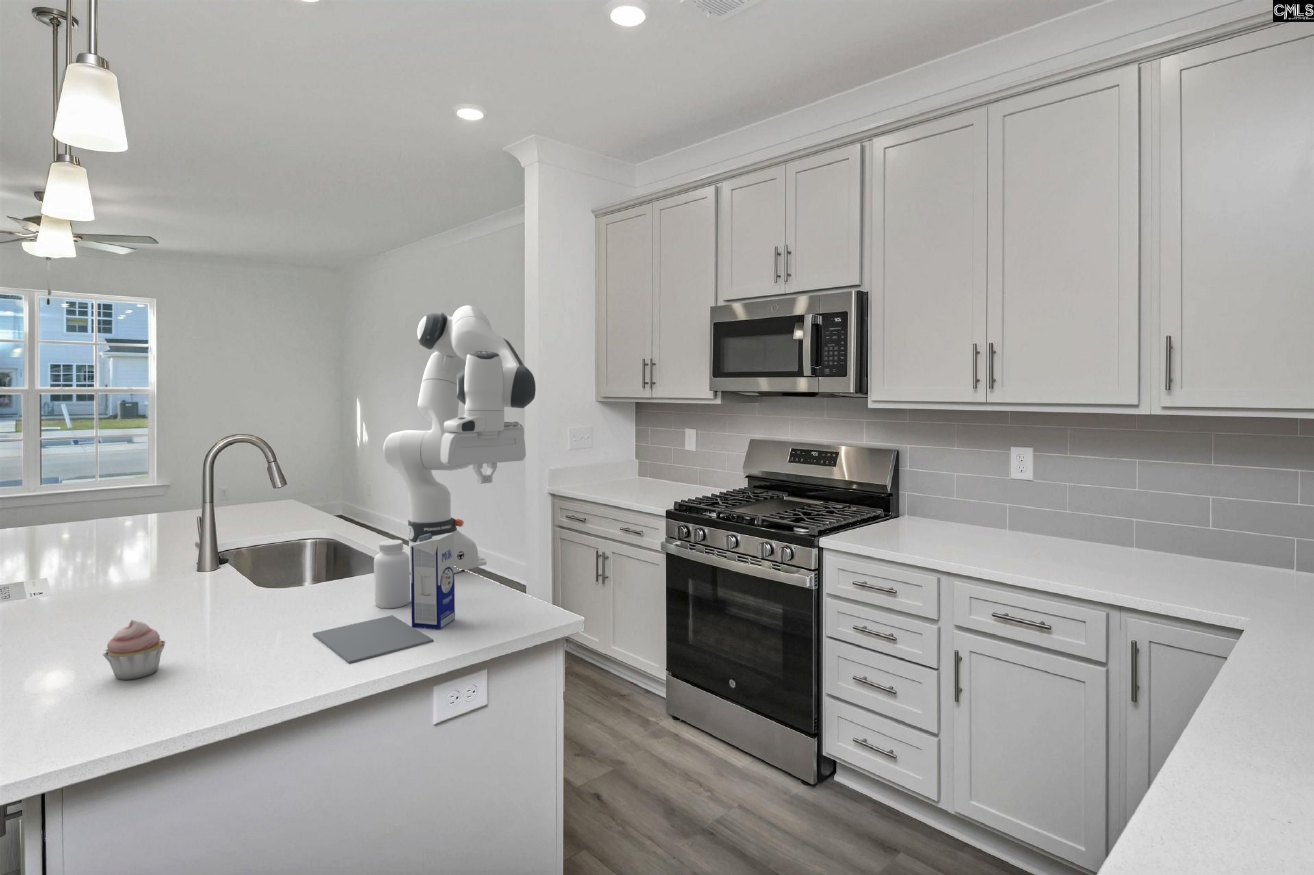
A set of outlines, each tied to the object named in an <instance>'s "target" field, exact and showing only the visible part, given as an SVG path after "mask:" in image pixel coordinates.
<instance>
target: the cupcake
mask: <svg viewBox="0 0 1314 875" xmlns="http://www.w3.org/2000/svg"><path fill="white" fill-rule="evenodd" d="M161 639H162V638H160V633H159V632H158V631H157V630H155V629H154V628H151V627H150V626H148V624H147V623H145V622H142V621H139V620H134V619H131V620H130V622H129V624H128V626H125V627H123V628H121V629H119V630H118V631H117V632H116V633H115V634H114V635H113V637H112V638H111V639H110V640H109V641H108V642H107V646H106V648H107V649H104V651H105V652H104V653H103V654H102V656H103V657H104V658H105V660H107V662H108V663H109V665H110V667H111V670H112V672H113V675H114V677H115V678H116V679H117V680H123V681H125V680H135V679H140V678H144V677H147V676H150V675H153V674H155V672H156V671H157V670H158V669H159V667H160V662H161V656H162V653H163V650H164V649H165V645H166V643H167V641H166V640H161Z"/></svg>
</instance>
